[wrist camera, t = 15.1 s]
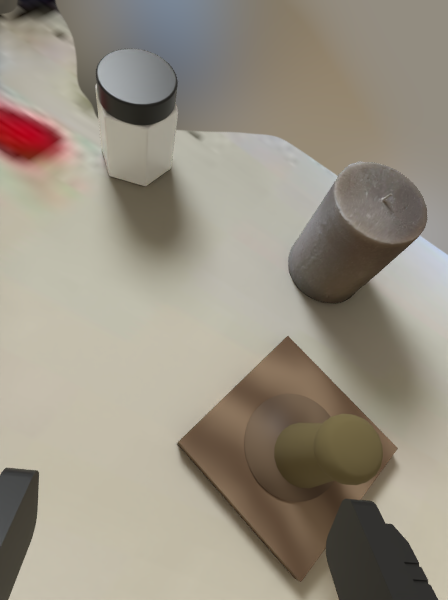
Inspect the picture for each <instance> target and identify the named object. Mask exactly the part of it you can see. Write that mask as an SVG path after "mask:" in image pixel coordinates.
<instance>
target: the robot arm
mask: <svg viewBox="0 0 448 600" xmlns="http://www.w3.org/2000/svg"><path fill="white" fill-rule="evenodd" d="M38 485H39V472H38V471H36V470H26V469H15V468H5V469H4V470H3V472H2V473H1V475H0V600H8V599H9V596H10V594H11V591H12V588H13V586H14V583H15V581H16V578H17V576H18V573H19V570H20V568H21V565H22V563H23V560H24V558H25V555H26V552H27V550H28V547H29V545H30V542H31V539H32V536H33V532H34V529H35V524H36V519H37V506H38ZM326 556H327V561H328V565H329V568H330V571H331V575H332V578H333V581H334V584H335V587H336V591H337V594H338V597H339V600H438V598H437V597H436V595H435V593H434V591H433V589H432V587H431V585H429V584H428V579H427V577H426V575H425V574H424V572H423V570H422V568H421V567H419V562H418V560H417V558H416V556H415V554H414V552H413V550H412V549H411V547H410V545H409V543H408V542H407V540H406V539H405V538H404V537H403V536H402V535H401V534H400V532H399V531H398V530H397V529H396V528H395V527H394V526H393V525H392V524H385V522H384V520H383V518H382V516H381V513H380V511H379V509H378V507H377V506H376V504H375V503H374V502H372V501H366V500H356V499H344V500H343V501H342V502H341V505H340V507H339V509H338V512H337V514H336V517H335V519H334V522H333V524H332V526H331V529H330V531H329V534H328V536H327V541H326Z"/></svg>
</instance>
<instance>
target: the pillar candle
mask: <svg viewBox="0 0 448 600" xmlns="http://www.w3.org/2000/svg"><path fill="white" fill-rule="evenodd" d="M426 222H427V208H426V205H425V202H424V199H423V196H422V195H421V193H420V191H419V190H418V189H417V187H416V186H415V185H414V184H413V183H412V182H411V181H410V180H409V179H408V178H407V177H405V176H404V175H403V174H401V173H400V172H399V171H397V170H395V169H393V168H390V167H388V166H385V165H381V164H377V163H369V162H357V163H356V164H355V163H354V164H350V165H349V166H348V167H346V168H345V169H344V170H343V171H342V172H341V173H340V174H339V175H338V178H337V179H336V181H335V182H334V184H333V186H332V187H331V189H330V190H329V192H328V193H327V195H326V196H325V198H324V199H323V201H322V202H321V204H320V205H319V207H318V208H317V210H316V211H315V213H314V214H313V216H312V217H311V219H310V221H309V222H308V223H307V225H306V226H305V228H304V230H303V231H302V233H301V234H300V236H299V238H298V239H297V241H296V242H295V244H294V245H293V247H292V248H291V251H290V254H289V272H290V275H291V277H292V279H293V281H294V282H295V284H296V285H297V287H298V288H299V289H300V290H301V291H302V292H304V293H305V294H306V295H308V296H309V297H311V298H313V299H315V300H318V301H321V302H327V303H339V302H343V301H345V300H347V299H349V298H350V297H351V296H352V295H353V294H354V293H355V292H356V291H357V290H359V289H360V288H361V287H362V286H363V285H365V284H366V283H367V282H368V281H369V280H370V279H372V278H373V277H374V276H375V275H377V274H378V273H379V272H380V271H381V270H382V269H383V268H384V267H385V266H387V265H388V264H389V263H390V262H391V261H392V260H393V259H394V258H396V257H397V256H398V255H399V254H400V253H401V252H402V251H404V250H405V249H406V248H407V247H408V246H409V245H410V244H411V243H412V242H413V241H415V240H416V239H417V238H418V237H419V235H420V234H421V233H422V231H423V230H424V228H425V226H426Z"/></svg>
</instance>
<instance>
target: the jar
mask: <svg viewBox="0 0 448 600" xmlns="http://www.w3.org/2000/svg"><path fill="white" fill-rule="evenodd" d="M96 81H97V84H96V97H97V107H98V118H99V128H100V139H101V148H102V152H103V155H104V159H105V163H106V166H107V170H108V173H109V176H111V177H114V178H118V179H121V180H125V181H128V182H132V183H135V184H138V185H142V186H147V185H148V184H150V183H151V182H153V181H154V180H155V179H157V178H158V177H160V176H161V175H162V174H164V173H165V172H167V171H168V170H169V169H171V165H172V157H173V149H174V141H175V132H176V124H177V116H178V109H177V106H176V103H175V102H176V93H177V77H176V74H175V72H174V70H173V68H172V67H171V66H170V65H169V64H168V63H167V62H166V61H165V60H164V59H162V58H161V57H159V56H158V55H156V54H153V53H151V52H148V51H145V50H140V49H120V50H116V51H113V52H111V53H109V54H107V55H106V56H105V57H103V58H102V59H101V61H100V62H99V64H98V66H97V69H96Z"/></svg>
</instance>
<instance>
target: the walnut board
mask: <svg viewBox="0 0 448 600" xmlns="http://www.w3.org/2000/svg"><path fill="white" fill-rule="evenodd" d="M339 414H352V415H356V416H358V417H361V418H363V419H365V420H366V421H367V422H368V423H369V424H371V425H372V426H373V428H374V429H375V431H376V432H377V434H378V435H379V437H380V440H381V443H382V448H383V459H382V464H381V467H380V469H379V471H378V472H377V474H376V475H375V476H374V477H373V478H372V479H370V480H369V481H368V482H366V483H363V484H359V485H345V484H341V483H339V482H336V481H331V482H328V483H325V484H322V485H319V486H316V487H313V488H309V489H308V488H299V487H296V486H294V485H292V484H290V483H289V482H288V481H287V480H286V479H285V478H283V477H282V475H281V473H280V472H279V470H278V468H277V465H276V462H275V458H274V449H275V444H276V441H277V438H278V436H279V435H280V433H281V432H282V431H283V430H284V429H285V428H287V427H288V426H289V425H292V424H295V423H323V422H324V421H326V420H327V419H329V418H330V417H332V416H335V415H339ZM177 444H178V445H179V446H180V447H181V448H182V449H183V451H184V452H185V453H186V454H187V455H188V456H189V457H190V459H191V460H192V461H193V462H194V463H195V464H196V465H197V467H198V468H199V469H200V470H201V471H202V472H203V474H204V475H205V476H206V477H207V478H208V479H209V480H210V482H211V483H212V484H213V485H214V486H215V487H216V488H217V490H218V491H219V492H220V493H221V494H222V495H223V497H224V498H225V499H226V500H227V501H228V502H229V503H230V505H231V506H232V507H233V508H234V509H235V510H236V511H237V513H238V514H239V515H240V516H241V517H242V518H243V519H244V521H245V522H246V523H247V524H248V525H249V526H250V528H251V529H252V530H253V531H254V532H255V533H256V534H257V536H258V537H259V538H260V539H261V540H262V541H263V542H264V544H265V545H266V546H267V547H268V548H269V549H270V551H271V552H272V553H273V554H274V555H275V556H276V557H277V559H278V560H279V561H280V562H281V563H282V564H283V565H284V567H285V568H286V569H287V570H288V571H289V572H290V574H291V575H292V576H293V577H294V578H295V579H297V580H298V581H300V582H301V581H302V580H303V578H304V577H305V576H306V574H307V573H308V571H309V570H310V569H311V567H312V566H313V565H314V563H315V562H316V560H317V559H318V558H319V556H320V555H321V554H322V552H323V551H324V549H325V548H326V541H327V536H328V534H329V531H330V529H331V526H332V524H333V522H334V519H335V517H336V514H337V512H338V509H339V507H340V505H341V502H342V501H343V500H344V499H356V500H361V498H362V497H363V496H364V494H365V493H366V491H367V490H368V489H369V487H370V486H371V485H372V483H373V482H374V480H375V479H376V478H377V476H378V475H379V474H380V472H381V471H382V469H383V468H384V467H385V465H386V464H387V463H388V461H389V460H390V458H391V457H392V456H393V454H394V453H395V452H396V450H397V449H398V448H397V447H396V446H395V445H394V444H393V443H392V442H391V441H390V440H389V439H388V438H387V437H386V436H385V435H384V434H383V433H382V432H381V431H380V430H379V429H378V428H377V427H376V426H375V424H374V423H373V422H372V421H371V420H370V419H369V418H368V417H367V416H366V415H365V414H364V413H363V412H362V411H361V410H360V409H359V408H358V407H357V406H356V405H355V404H354V403H353V402H352V401H351V400H350V399H349V398H348V397H347V396H346V395H345V394H344V393H343V392H342V391H341V390H340V389H339V388H338V387H337V386H336V385H335V384H334V383H333V382H332V380H331V379H330V378H329V377H328V376H327V375H326V374H325V373H324V372H323V371H322V370H321V369H320V368H319V367H318V366H317V365H316V364H315V363H314V362H313V361H312V360H311V359H310V358H309V357H308V356H307V355H306V354H305V353H304V352H303V351H302V350H301V349H300V348H299V347H298V346H297V345H296V344H295V343H294V342H293V341H292V340H291V339H290V338H289V336H287V337H286V338H285V339H284V340H283V341H282V342H281V343H280V344H279V345H278V346H277V347H276V348H275V349H274V350H273V351H272V352H271V353H269V354H268V355H267V356H266V357H265V358H264V359H263V360H262V361H261V362H260V363H259V364H258V365H257V366H256V367H255V368H254V369H253V370H252V371H251V372H250V373H249V374H248V375H247V376H246V377H245V378H244V379H243V380H242V381H241V382H240V383H239V384H238V385H237V386H235V387H234V388H233V389H232V390H231V391H230V392H229V393H228V394H227V395H226V396H225V397H224V398H223V399H222V400H221V401H220V402H219V403H218V404H217V405H216V406H215V407H214V408H213V409H212V410H211V411H210V412H209V413H208V414H207V415H206V416H205V417H204V418H202V419H201V420H200V421H199V422H198V423H197V424H196V425H195V426H194V427H193V428H192V429H191V430H190V431H189V432H188V433H187V434H186V435H185V436H184V437H183V438H182V439H181V440H180V441H179V442H178V443H177Z"/></svg>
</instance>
